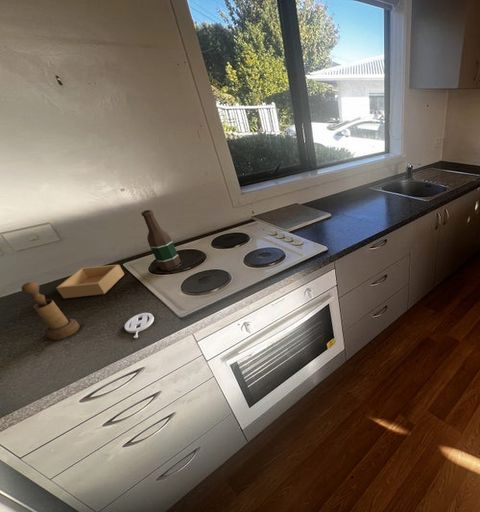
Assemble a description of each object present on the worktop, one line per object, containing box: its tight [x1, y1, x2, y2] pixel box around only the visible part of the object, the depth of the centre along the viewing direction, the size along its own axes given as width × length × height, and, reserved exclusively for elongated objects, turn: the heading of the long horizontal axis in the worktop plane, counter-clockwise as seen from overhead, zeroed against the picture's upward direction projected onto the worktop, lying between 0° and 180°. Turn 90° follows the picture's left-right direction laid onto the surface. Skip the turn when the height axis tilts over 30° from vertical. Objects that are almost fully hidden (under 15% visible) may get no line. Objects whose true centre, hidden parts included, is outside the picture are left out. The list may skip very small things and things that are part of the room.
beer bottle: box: [140, 209, 182, 272], centre depth 112 cm, size 8×8×24 cm
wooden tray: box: [55, 264, 125, 299], centre depth 106 cm, size 13×13×5 cm
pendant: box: [124, 312, 155, 339], centre depth 89 cm, size 7×11×1 cm, turn 29°
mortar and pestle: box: [21, 282, 81, 341], centre depth 82 cm, size 7×6×18 cm
